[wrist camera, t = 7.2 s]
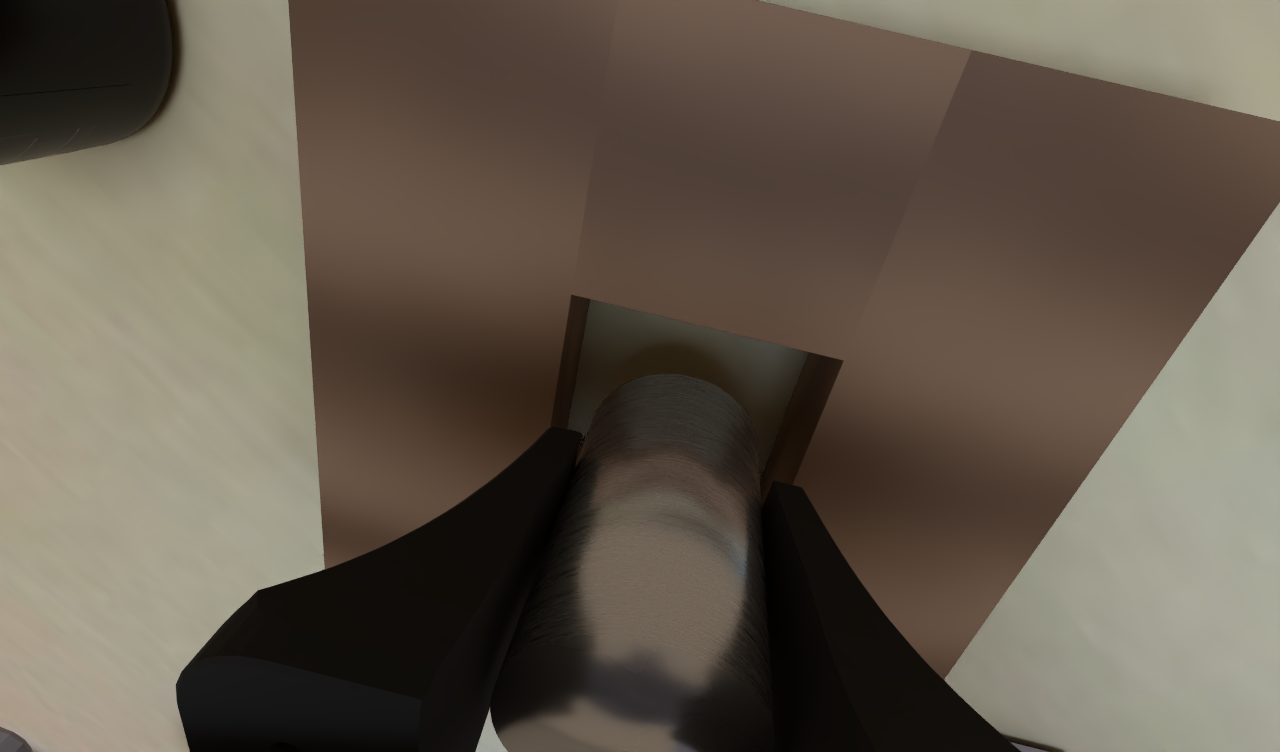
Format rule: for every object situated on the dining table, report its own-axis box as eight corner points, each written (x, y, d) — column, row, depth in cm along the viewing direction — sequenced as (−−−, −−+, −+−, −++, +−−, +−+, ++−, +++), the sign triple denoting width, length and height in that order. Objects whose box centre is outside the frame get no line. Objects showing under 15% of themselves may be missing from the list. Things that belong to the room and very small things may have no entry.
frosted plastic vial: (717, 534, 16) (707, 843, 10) (569, 480, 16) (465, 761, 10) (787, 411, 14) (829, 700, 8) (619, 348, 14) (527, 595, 8)
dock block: (876, 662, 22) (896, 747, 19) (375, 536, 22) (327, 603, 19) (1208, 114, 13) (1328, 132, 10) (370, -80, 13) (281, -110, 11)
